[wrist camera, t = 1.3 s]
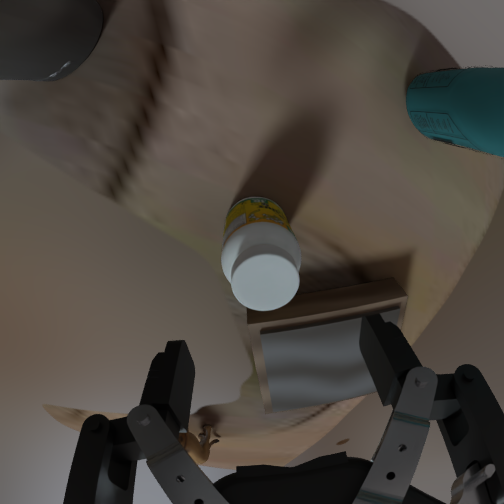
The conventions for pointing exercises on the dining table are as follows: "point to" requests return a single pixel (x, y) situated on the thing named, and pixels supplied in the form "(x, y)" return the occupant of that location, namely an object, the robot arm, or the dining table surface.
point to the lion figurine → (197, 445)
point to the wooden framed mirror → (319, 344)
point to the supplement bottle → (260, 254)
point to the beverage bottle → (460, 107)
